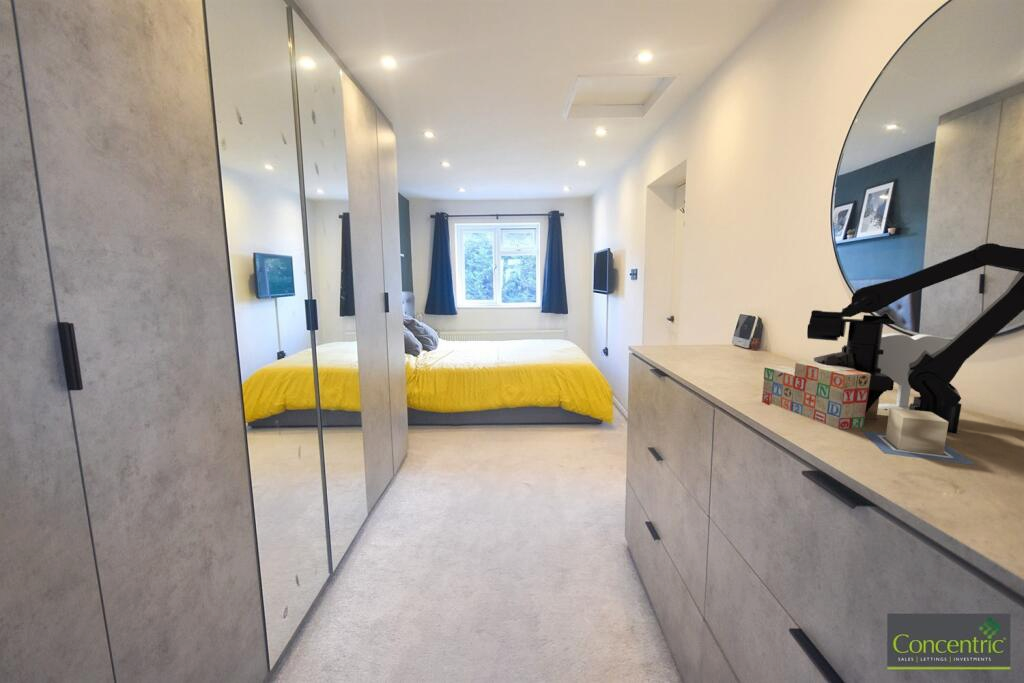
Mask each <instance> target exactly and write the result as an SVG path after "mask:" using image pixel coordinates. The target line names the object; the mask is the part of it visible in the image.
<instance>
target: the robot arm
mask: <svg viewBox="0 0 1024 683" xmlns="http://www.w3.org/2000/svg"><path fill="white" fill-rule="evenodd" d="M986 266H989V267H994V268H999V269H1003V270H1009V271H1013V272H1017V273H1016V275H1015V277H1014V278H1013V280H1012V281H1011V283H1010V284H1009V286H1008V288H1007V289H1005V292H1003V293H1002V294H1001V295H1000V296H998V298H996V299H995V300H994V301H993V302H991V304H990V305H989V306H987V307H986V308H985V310H983V311H982V312H981V313H980V314H978V316H977V317H976V318H974V319H973V320H972V321H971V322H970V323H969V324H968V325H967V326H965V328H963V329H962V330H961V331H960V332H958V334H956V335H955V337H953V339H951V340H950V342H949V343H948V344H947V345H946V346H945V347H943V348H942V349H940V350H939V351H937V352H935V353H933V354H930V353H929V352H927V351H926V350H924V351H923V353H922V354H921V355H920V357H919V358H918V359H917V360H916V361H914V362H912V363H910V364H909V368H910V369H909V371H908V383H909V385H910V387H911V390H913V391H914V392H917V393H918V394H919V396H913V402H912V403H909V406H910V407H909V410H916V411H926V412H932V413H934V414H936V415H937V416H939V417H941V418H942V419H944V420H946V421H948V429H947V434H956V435H957V434H958V435H962V432H960V431H959V430H958V429H959V422H960V415H961V410H962V409H961V408H962V405H963V404H962V403H960V401H961V400H962V397H961V395H960V392H959V391H958V389H957V388H956V387H955V386H954V385H953V384H952V383H951V382H952V381H953V379H954V378H955V376H956V375H957V373H958V372H959V370H960V369H961V367H962V366H963V365H964V363H965V362H966V361H967V360H968V359H969V358H971V356H972V355H974V354H975V353H976V352H977V351H978V350H979V349H980V348H982V347H983V346H984V345H985V344H987V343H988V342H989V341H990V340H991V339H993V337H995V335H997V334H998V333H999V332H1000V331H1002V330H1003V329H1004V328H1005V327H1006V326H1008V325H1009V324H1010V323H1011V322H1012V321H1013V320H1015V318H1017V317H1018V316H1019V315H1020V314H1021V313H1022V312H1024V248H1019V247H1013V246H1012V247H1011V246H1005V245H1000V244H997V243H993V242H990V243H989V242H987V243H984V244H981V245H978V246H976V247H975V248H973V249H971V250H970V251H967V252H964V253H961V254H958V255H957V256H953V257H952V258H949V259H946V260H944V261H941V262H939V263H936V264H934V265H931V266H928V267H926V268H922V269H921V270H918V271H915V272H913V273H910V274H908V275H906V276H903V277H900V278H895V279H891V280H887V281H883V282H880V283H875V284H871V285H867V286H864V287H860V288H858V289H857V290H856V291H854V293H853V295H852V297H851V301H850V303H849V304H848V305H847V306H846V307H843V308H842V310H841V311H823V310H820V309H819V310H818V309H814V310H812V311H811V314H810V315H811V316H810V318H809V323H808V324H807V332H806V335H807V336H806V337H807V339H808V340H809V339H810V340H821V341H823V340H824V341H833V342H834V341H835V342H837V341H838V340H839V338H840V337H841V338H844V337H845V334H846V328H847V323H849V325H848V332H847V333H848V334H847V339H846V340H847V342H846V344H845V345H843V346H842V347H841V351H839V352H834V353H828V354H825V355H820V356H817V357H813V362H817V363H821V364H824V365H831V366H841V367H847V368H852V369H856V371H861V372H865V373H870V374H871V377H870V383H869V392H868V399H867V402H866V403H867V404H866V411H865V413H866V412H867V411H868V409H869V408H870V407H871V406H872V405H873V403H874V402H875V401H876V400H877V399H878V398H879V399H880V397H881V396H882V395H883V394H884V393H885V392H887V391H891V392H892V391H894V385H895V382H894V381H893V380H892V379H891V378H890V377H889V376H887V375H885V374H883V373H881V368H879V367H878V361H879V354H880V355H883V351H884V350H882V349H880V346H881V338H882V334H883V329H884V325H895V323H896V320H895V319H893V318H892V317H891V316H890V314H889V313H888V312H884V313H883V314H881V315H869V314H873V313H877V312H879V311H880V310H882V309H884V308H886V307H888V306H890V305H891V304H892V305H893V303H895V302H896V301H899V300H901V299H902V298H904V297H906V296H908V295H910V294H912V293H914V292H917V291H920V290H923V289H925V288H928V287H930V286H933V285H936V284H939V283H941V282H945V281H947V280H949V279H952V278H955V277H957V276H961V275H963V274H966V273H969V272H971V271H975V270H977V269H979V268H980V269H981V268H982V267H986ZM861 313H864V315H863V317H862V318H851V317H855V316H856V315H858V314H861Z"/></svg>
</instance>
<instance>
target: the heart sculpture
mask: <svg viewBox="0 0 1024 683" xmlns="http://www.w3.org/2000/svg"><path fill="white" fill-rule="evenodd" d="M950 341H951V340H950V339H946V338H943V337H940V336H936V335H931V334H925V333H923V334H922V333H920V334H915V335H912V336H908V335H905V334H901V333H897V332H891V333H888V332H887V333H882V338H881V346H880V349H882V350H884V351H883V355H880V354H879V361H878V367H879V368H881V373H883V374H885V375H887V376H889V377H890V378H891V379H892V380H893V381H894V384H897V385H898V388H897V395H896V402H895V403H880V402H879V404H878V408H886V409H890V408H895V409H906V410H909V407H910V396H911V390H912V388H911V387H910V385H909V383H908V371H909V369H910V368H909V364H910V363H912V362H914V361H916V360H917V359H918V358H919V357H920V355H921V354H922V353H923V351H924V350H926V351H927V352H929V353H930V354H933V353H935V352H937V351H939V350H940V349H942V348H943V347H945V346H946V345H947V344H948V343H949V342H950Z"/></svg>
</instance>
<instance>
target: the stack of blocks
mask: <svg viewBox="0 0 1024 683" xmlns="http://www.w3.org/2000/svg"><path fill="white" fill-rule="evenodd" d="M870 377H871V374H870V373H865V372H861V371H856V369H852V368H847V367H841V366H831V365H824V364H821V363H817V362H815V361H804V362H803V361H799V362H795V366H794V367H790V366H787V365H785V366H784V365H782V366H779V365H778V366H764V370H763V385H762V396H761V399H762V400H761V402H762V403H764V402H765V403H764V404H766V403H767V405H769V404H770V405H774V406H777V407H780V408H782V409H786V410H788V411H790V412H793V413H796V414H799V415H800V416H804V417H806V418H809V419H811V420H815V421H817V422H820V423H823V424H824V425H827V426H830V427H832V428H834V429H837V430H841V429H852V428H853V429H855V428H864V427H865V426H864V424H865V419H866V418H865V417H864V416H865V411H866V404H867V403H866V402H867V399H868V392H869V383H870Z"/></svg>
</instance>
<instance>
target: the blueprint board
mask: <svg viewBox="0 0 1024 683" xmlns="http://www.w3.org/2000/svg"><path fill="white" fill-rule="evenodd" d="M860 432H861V433H862V434H863V435H865V437H866V438H868V439H869V440H870V441H871V442H872V443H873V444H874V446H876V447H877V448H878V449H879V450H880V451H881V452H882V453H883V454H886V455H887V454H888V455H895V456H903V457H910V458H919V459H924V460H926V459H927V460H934V461H941V462H946V463H947V462H948V463H955V464H962V465H963V464H964V465H970V466H977V464H976V463H974V462H973V461H971V460H970V459H968V458H967V457H966V456H965V455H963V454H962V453H960V452H958V451H957V450H955V449H954V448H953V447H951V446H949V445H948V444H946V443H945V447H944V454H943V455H938V454H930V453H922V452H915V451H907V450H899V449H898V448H897V447H895V446H894V445H893V444H892V443H891V442H890V441H888V440H887V439H886V432H885V433H884V432H874V431H867V430H860Z"/></svg>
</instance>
